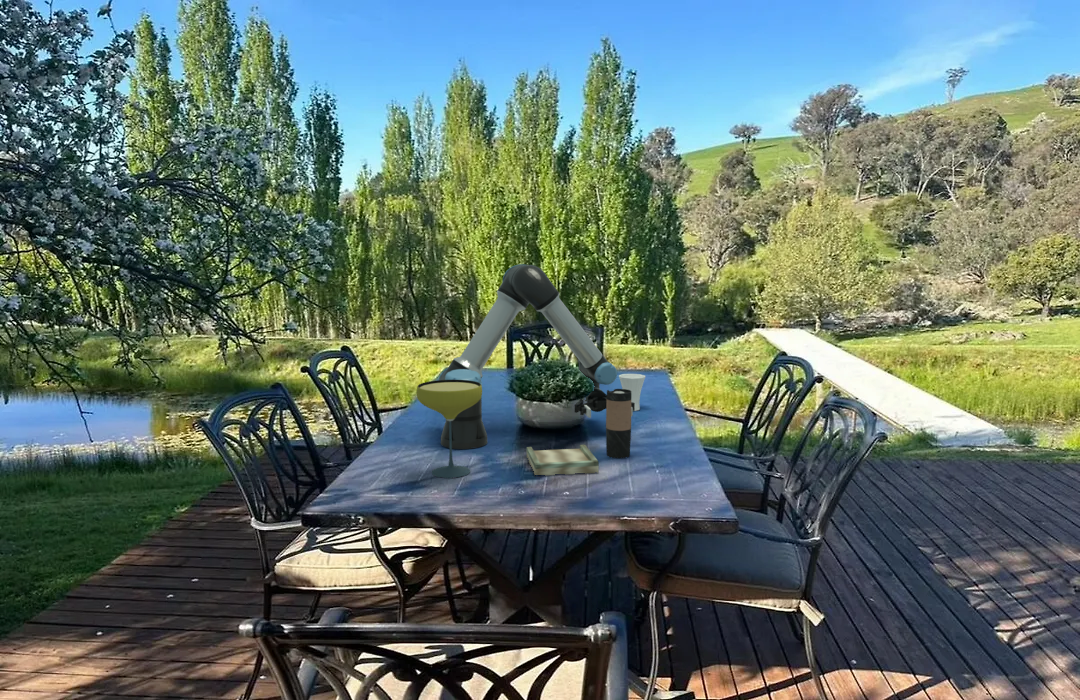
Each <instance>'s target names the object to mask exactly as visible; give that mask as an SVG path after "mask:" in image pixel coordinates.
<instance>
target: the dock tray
mask: <svg viewBox="0 0 1080 700" xmlns="http://www.w3.org/2000/svg"><path fill="white" fill-rule="evenodd" d="M527 458H528V459H527ZM526 459H527V461H528V460H529V461H528V463H529V465H531V466H530V467H532V468H531V470H532V469H533V470H532V472H533V471H534V472H533V474H534V476H535V475H545V476H556V475H555V474H565V475H576V474H575V473H585V474H599V473H598V472H599V470H600V469H599V468H600V467H599V466H600V465H599V463H600V462H599V460H598V459H597V458H596V456H595V455H594V454H593V452H592V451H591V450H590V449H589V448H588V447H587V445H586V444H579V448H566V449H565V448H564V449H563V448H562V449H546V450H545V449H543V450H534V449H533V447H532V446H527V447H526ZM595 472H597V473H595Z"/></svg>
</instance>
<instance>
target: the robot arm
mask: <svg viewBox="0 0 1080 700" xmlns="http://www.w3.org/2000/svg"><path fill="white" fill-rule="evenodd" d="M496 294H497V299H496V300H495V302H494V303H493V305H492V307H491V308H490V310H489V311H488V313H487V314H486V316H485V317H484V319H483V321H482V322H481V323H480V326H479V327H478V328H477V330H476V331H475V333H474V334H473V336H472V338H471V339H470V341H469V343H468V344H467V345H466V347H465V348H464V350H463V351H462V353H461V355H460V356H458V357H454V358H452V361H451V362H450V364H449V365H448V367H447V368H444V370H442V372H441V373H440V375H439V376H438V379H437V380H469V381H475V382H478V383H480V384H481V385H482V386H483V381H482V378H483V371H482V370H483V369H484V367H485V365H486V364H487V362H488V361H489V359H490V357H491V356H492V354H493V352H494V351H495V349H496V348H497V346H498V345H499V344H500V342H501V340H502V339H503V337H504V335H505V334H506V332H507V331H508V329H509V327H510V326H511V324H512V322H513V321H514V320H515V318H516V316H517V315H518V314H519V312H520V311H521V312H522V311H525V310H526V309H527V307H528V306H529V305H531V306H532V308H534V310H535V311H536V312H540V313H542V315H543V316H544V317H545V319H546V320H547V321H548V323H549V324H550V325H551V326H552V328H553V330H555V332H557V334H558V335H559V337H560V338H561V339H562V341H564V343H565V344H566V345H567V347H568V348H569V349H570V350H571V352H572V353H573V354H574V355H575V357H576V358H577V360H578V371H579V370H580V371H581V372H582V373H583V374H584V375H585V376H586V377H588V378H590V379H591V380H592V381H593V383H594V386H595V387H594V391H592V392H591V393H590V394H589V395H588V396H587V397H586V400H583V399H579V398H578V400H579V401H578V402H576V403H575V404H574V413H579V414H580V416H584V415H585V416H586V417H587V418H589V419H591V418H592V412H594V413H600V412H602V411H604V410H606V403H607V393H605V392H604V391H603V390H602V389H600V385H603V386H604V385H607V386H609V385H611V384H612V383H614V382H615V381H616V379H617V377H618V371H617V368H616V366H615V365H613V363H611V362H609V361H608V360H607V359H606V357H605V356H604V355H603V354H602V352H601V351H600V350H599V348H598V347H597V346H596V344H595V343H594V342H593V340H592V339H591V337H590V336H589V335H588V333H587V332H586V331H585V330H584V329H583V327H582V326H581V325H580V323H579V322H578V320H577V319H576V318H575V317H574V316H573V314H572V313H571V312H570V310H569V309H568V307H567V306H566V305H565V304H564V302H563V301H562V300H561V298H560V292H559V290H558V289H557V288H556V287H555V285H554V284H553V283H552V281H551V279H550V278H549V277H548V276H547V274H546V273H545V272H544V271H543V269H541V268H540V267H539V266H536V265H533V264H523V263H522V264H521V263H520V264H516V265H513V266H511V267H509V268H508V269H507V270H506V271H505V273H504V275H503V277H502V283H501V284H500V285H499V287H498V288H497V291H496ZM482 397H483V396H482ZM482 397H481V399H480V400H479V401H478V402H477V403H476V404H474V405H473V406H471V407H469V408H467V409H465V410H463V411H462V412H460V413H459V414H458V415H457V416H456V417H455V419H454V420H453V421H451V434H452V450H453V449H454V450H469V449H476V448H477V449H478V448H481V447H484V446H486V445H487V444H488V434H487V431H486V427H485V425H484V421H483V416H482V415H483V413H482V412H483V407H482V405H483V403H482V402H483V401H482V399H483V398H482ZM634 410H635V403H633V402H631V417H633V415H634V414H633V413H634V412H635V411H634ZM440 445H441V446H442V447H445V448H448V449H449V421H447V420H446V419H445V423H444V425H443V428H442V432H441V436H440Z"/></svg>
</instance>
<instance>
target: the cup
mask: <svg viewBox="0 0 1080 700" xmlns="http://www.w3.org/2000/svg"><path fill="white" fill-rule="evenodd" d="M618 378H619V382H620V385H621V389H627V390H630V391H631V402H633V403H635V410H634V411H633V412H635V411H639V410H641V408H640V407H641V406H640V405H641V404H640V398H641V392H642V389H643V386H644V382H645V380H646V375H644V374H640V373H622V374H619V375H618Z"/></svg>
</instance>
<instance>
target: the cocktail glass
mask: <svg viewBox="0 0 1080 700" xmlns="http://www.w3.org/2000/svg"><path fill="white" fill-rule="evenodd" d="M482 395H483V384H482V385H481V384H480V383H478V382H475V381H469V380H438V379H437V380H430V381H426V382H422V383H419V384H417V386H416V398H417V400H418V402H419V403H420V404H422V405H423V406H424V407H426V408H429V409H431V410H432V411H434V412H437V413H439V414H440V415H442V417H443V418H444V419H445V421H446V420H447V421H449V448H448V449H449V456H448V457H449V458H448V459H449V460H448V464H447V465H442V466H439V467H435V468H434V469H432V470H431V474H432V475H433V476H434V475H435V476H434V477H436V476H437V478H440V477H443V478H442V479H454V478H453V477H458V478H462V477H461V476H463V477H465V476H464V475H466V476H467V474H468V475H470V473H471V469H470V467H467V466H463V465H455V464H454V461H453V449H452V434H451V421H453V420H454V419H455V417H456V416H457V415H458V414H459V413H460V412H462V411H463V410H465V409H467V408H469V407H471V406H473V405H474V404H476V403H477V402H478V401H479V400H480V399H481V397H483V396H482Z"/></svg>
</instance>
